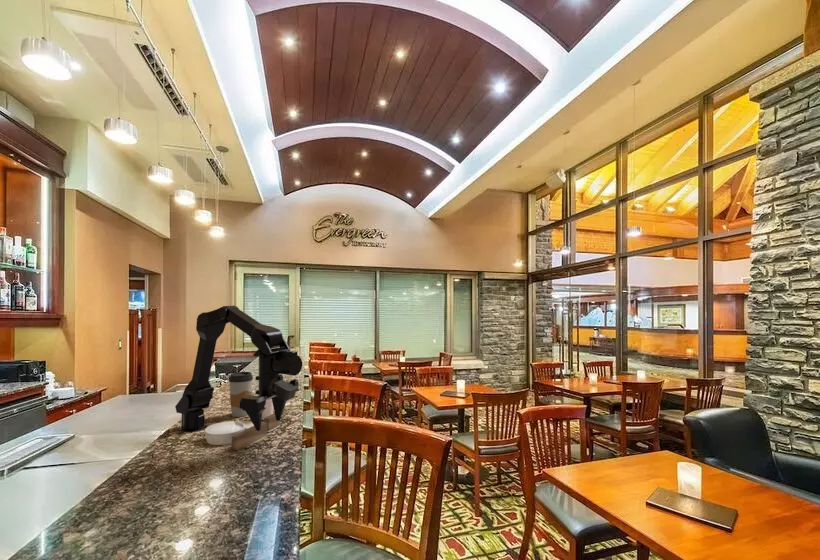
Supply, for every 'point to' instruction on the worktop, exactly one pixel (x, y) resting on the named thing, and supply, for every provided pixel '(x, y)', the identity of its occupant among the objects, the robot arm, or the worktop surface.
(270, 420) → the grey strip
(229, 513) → the worktop surface
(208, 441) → the ramekin
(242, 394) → the coffee cup
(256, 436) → the wooden handled dough scraper
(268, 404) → the smoothie
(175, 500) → the worktop surface
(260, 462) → the worktop surface
